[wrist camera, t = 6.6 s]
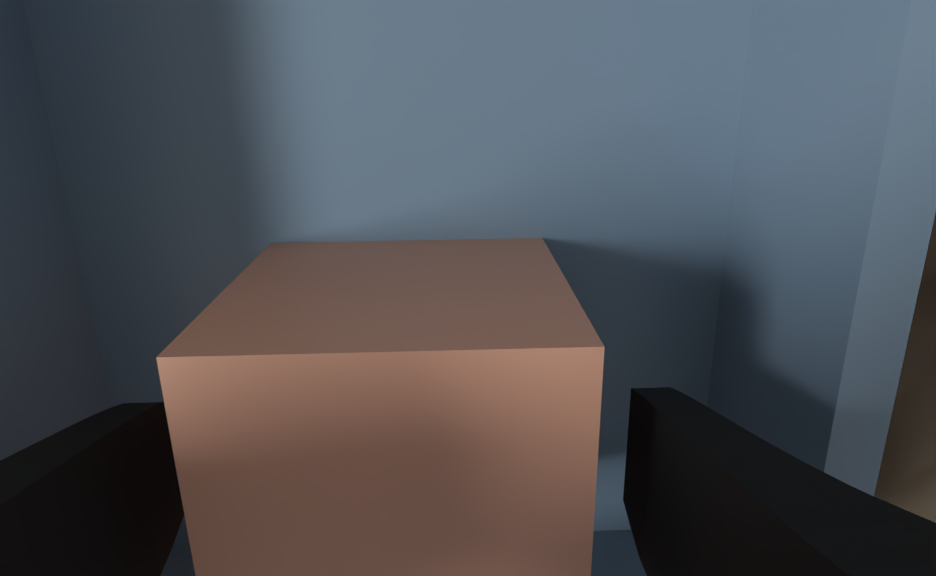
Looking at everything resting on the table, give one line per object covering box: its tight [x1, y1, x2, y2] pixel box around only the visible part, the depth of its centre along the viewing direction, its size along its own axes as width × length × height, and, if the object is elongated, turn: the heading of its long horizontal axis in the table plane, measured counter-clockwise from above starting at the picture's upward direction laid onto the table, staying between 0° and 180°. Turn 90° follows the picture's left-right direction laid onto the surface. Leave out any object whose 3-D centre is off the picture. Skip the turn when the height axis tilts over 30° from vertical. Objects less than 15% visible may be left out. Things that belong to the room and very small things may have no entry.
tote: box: [0, 0, 936, 576], centre depth 10 cm, size 18×14×5 cm
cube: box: [156, 238, 605, 576], centre depth 10 cm, size 5×5×5 cm
